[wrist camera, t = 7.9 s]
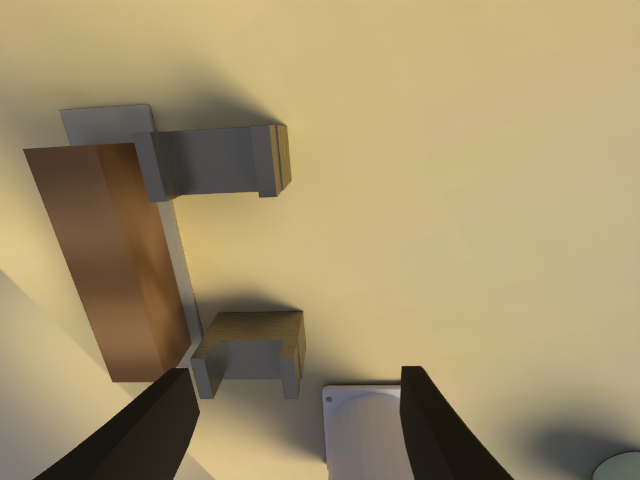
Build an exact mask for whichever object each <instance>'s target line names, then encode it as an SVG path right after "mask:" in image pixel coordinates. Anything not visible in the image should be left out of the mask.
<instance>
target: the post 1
mask: <svg viewBox="0 0 640 480" xmlns="http://www.w3.org/2000/svg"><path fill="white" fill-rule="evenodd" d="M132 136H133V140H134V144H135V148H136V152H137V155H138V159H139V163H140V167H141V171H142V175H143V179H144V183H145V186H146V190H147V194H148V198H149V202H167V201H169V200H172V199H174V198H176V197H179V196H181V195H191V194H213V193H235V192H257V191H258V192H259V198H261V197H277V196H278V195H279V194H280V192H281V191H282V190H284V189H285V188H286V187H287V185H288V184H289V183H290V182H291V181H292V180H291V168H290V157H289V145H288V134H287V126H280V125H257V126H250V127H239V128H222V129H205V130H188V131H172V132H139V133H132Z"/></svg>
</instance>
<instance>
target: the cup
mask: <svg viewBox="0 0 640 480" xmlns="http://www.w3.org/2000/svg"><path fill="white" fill-rule="evenodd" d="M593 480H640V452H628V453H623V454H619V455H616V456H614V457H611V458H610V459H607V460H606V461H604V462H603V463H602V464H601V465H599V467H598V468H597V469H596V470H595V472H594V474H593Z"/></svg>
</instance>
